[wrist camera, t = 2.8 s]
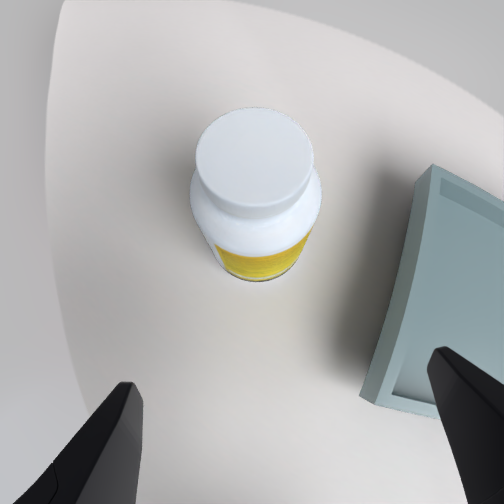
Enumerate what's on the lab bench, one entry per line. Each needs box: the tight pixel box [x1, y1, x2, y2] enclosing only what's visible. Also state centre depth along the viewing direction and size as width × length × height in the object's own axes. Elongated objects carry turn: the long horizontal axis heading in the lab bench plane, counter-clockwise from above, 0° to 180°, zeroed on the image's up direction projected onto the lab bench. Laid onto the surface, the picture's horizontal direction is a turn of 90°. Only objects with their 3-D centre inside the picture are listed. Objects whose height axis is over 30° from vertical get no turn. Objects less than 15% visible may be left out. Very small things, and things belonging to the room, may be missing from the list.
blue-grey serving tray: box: [359, 164, 504, 419], centre depth 19 cm, size 16×16×5 cm
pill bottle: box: [190, 107, 322, 282], centre depth 18 cm, size 6×6×12 cm
